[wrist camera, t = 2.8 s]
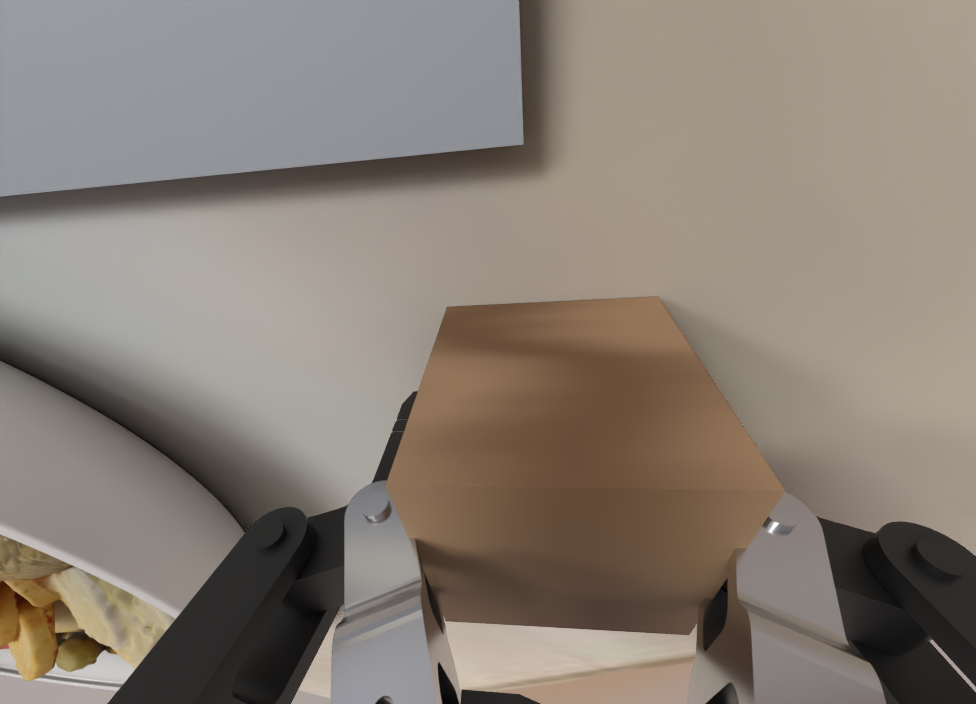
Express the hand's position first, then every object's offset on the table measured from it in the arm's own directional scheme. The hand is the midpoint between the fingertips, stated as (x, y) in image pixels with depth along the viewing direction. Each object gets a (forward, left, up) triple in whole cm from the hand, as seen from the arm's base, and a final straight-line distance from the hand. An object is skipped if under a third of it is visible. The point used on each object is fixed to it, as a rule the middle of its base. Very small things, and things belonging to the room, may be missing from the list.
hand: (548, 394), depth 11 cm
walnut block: (0, 0, -1) cm, 1 cm away
